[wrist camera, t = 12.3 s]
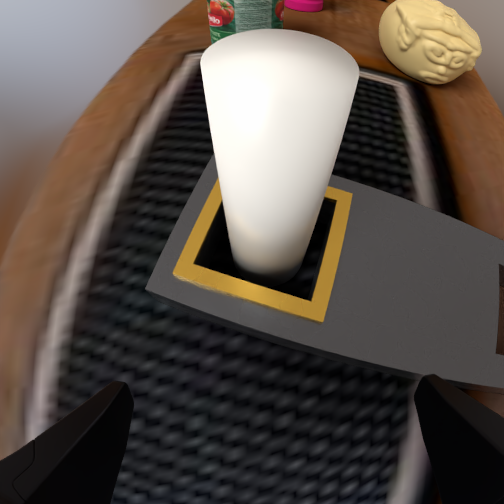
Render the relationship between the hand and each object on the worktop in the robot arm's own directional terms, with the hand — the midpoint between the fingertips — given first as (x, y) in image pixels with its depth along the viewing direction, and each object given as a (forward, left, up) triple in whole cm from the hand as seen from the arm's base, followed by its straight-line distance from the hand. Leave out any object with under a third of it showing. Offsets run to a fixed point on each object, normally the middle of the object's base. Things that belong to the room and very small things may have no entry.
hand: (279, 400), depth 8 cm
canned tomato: (+29, +15, -8) cm, 34 cm away
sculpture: (+38, -4, -8) cm, 39 cm away
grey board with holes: (+8, -6, -8) cm, 13 cm away
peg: (+7, +3, -8) cm, 11 cm away
